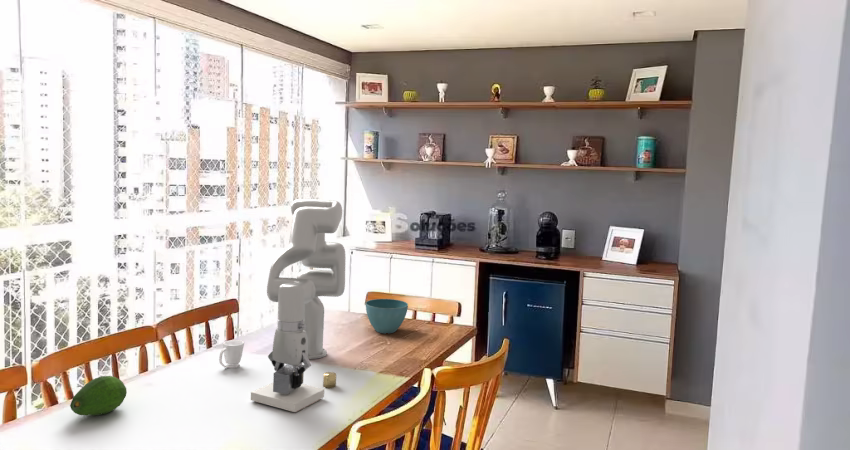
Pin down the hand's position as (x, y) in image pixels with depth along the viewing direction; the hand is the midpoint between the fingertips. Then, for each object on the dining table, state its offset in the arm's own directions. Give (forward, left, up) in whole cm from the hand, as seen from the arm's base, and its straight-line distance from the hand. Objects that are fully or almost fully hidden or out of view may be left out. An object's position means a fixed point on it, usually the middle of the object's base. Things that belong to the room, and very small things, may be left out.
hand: (288, 384), depth 183 cm
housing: (0, 0, -1) cm, 1 cm away
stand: (0, 0, -5) cm, 5 cm away
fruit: (-35, -36, -5) cm, 51 cm away
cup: (-35, +13, -5) cm, 38 cm away
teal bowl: (-16, +86, -5) cm, 87 cm away
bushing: (+3, +17, -5) cm, 18 cm away
